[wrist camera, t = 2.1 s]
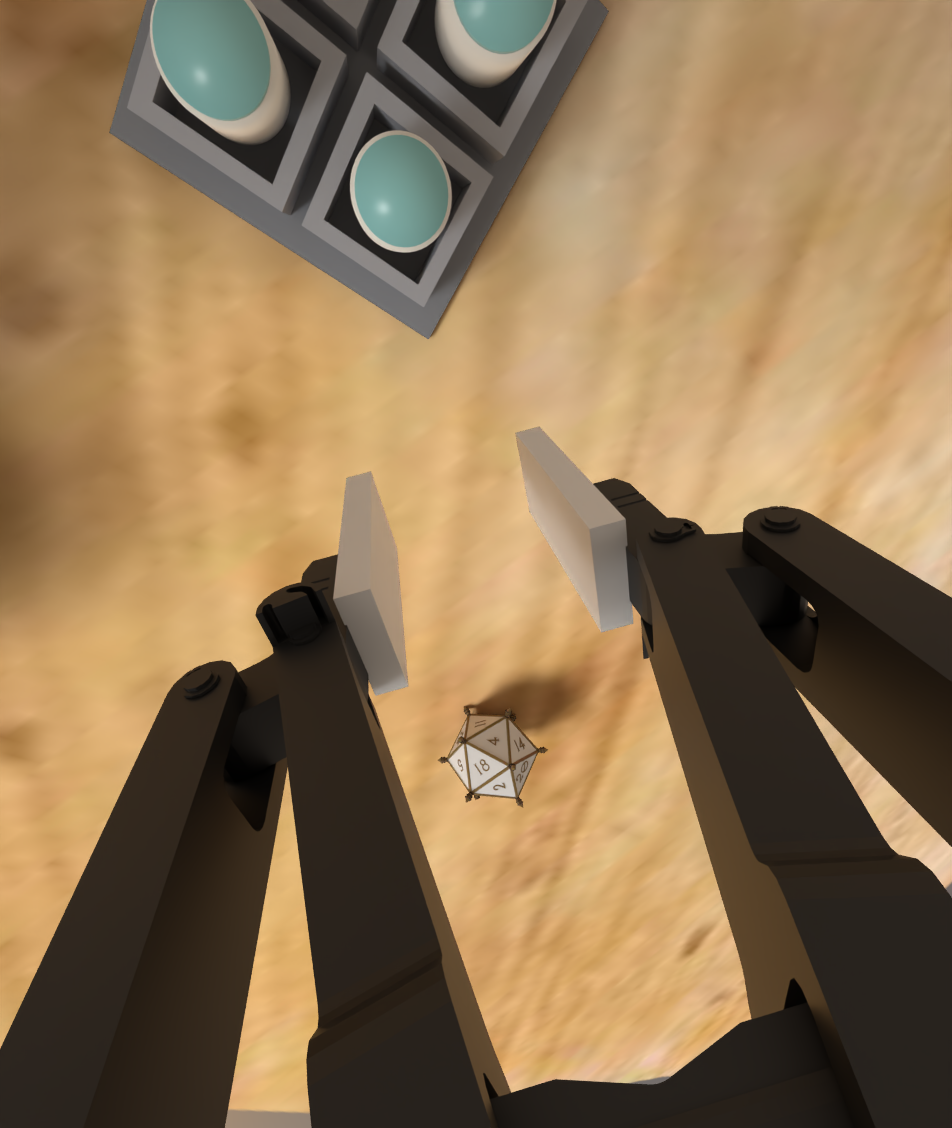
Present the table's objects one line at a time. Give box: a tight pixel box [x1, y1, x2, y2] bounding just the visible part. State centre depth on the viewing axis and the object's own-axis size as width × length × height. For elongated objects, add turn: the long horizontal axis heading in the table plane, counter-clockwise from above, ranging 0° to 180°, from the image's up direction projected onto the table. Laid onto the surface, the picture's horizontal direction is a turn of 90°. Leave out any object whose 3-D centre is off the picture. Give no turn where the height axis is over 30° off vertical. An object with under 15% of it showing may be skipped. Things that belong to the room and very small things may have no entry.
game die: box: [438, 707, 548, 807], centre depth 48 cm, size 9×8×10 cm
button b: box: [350, 130, 452, 252], centre depth 25 cm, size 4×4×5 cm
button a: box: [434, 0, 557, 88], centre depth 22 cm, size 4×4×5 cm
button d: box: [150, 0, 291, 145], centre depth 22 cm, size 4×4×5 cm
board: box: [109, 0, 609, 339], centre depth 26 cm, size 18×18×4 cm
